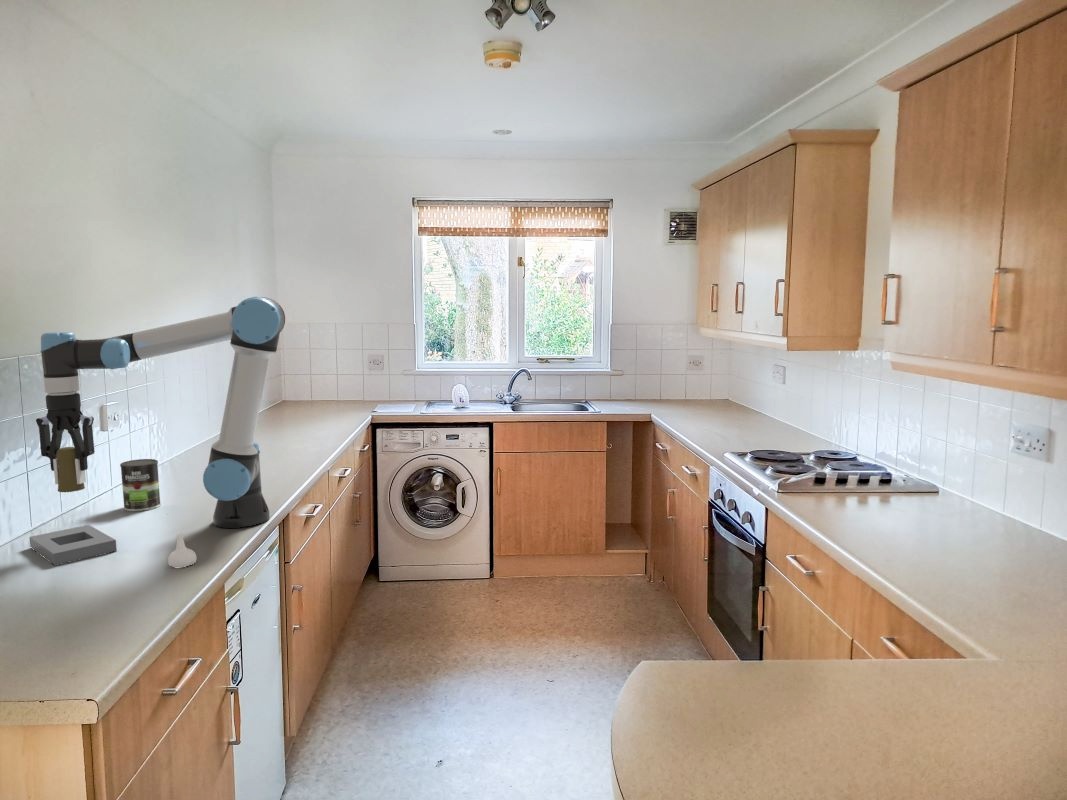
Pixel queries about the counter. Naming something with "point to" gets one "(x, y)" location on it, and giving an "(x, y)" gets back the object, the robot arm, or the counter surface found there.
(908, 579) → the counter surface
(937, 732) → the counter surface
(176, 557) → the garlic bulb
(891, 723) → the counter surface
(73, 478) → the cork
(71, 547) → the dock board
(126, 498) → the coffee can
